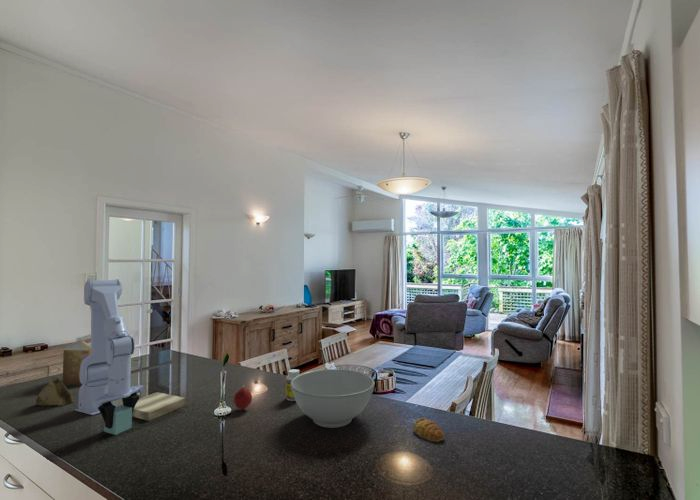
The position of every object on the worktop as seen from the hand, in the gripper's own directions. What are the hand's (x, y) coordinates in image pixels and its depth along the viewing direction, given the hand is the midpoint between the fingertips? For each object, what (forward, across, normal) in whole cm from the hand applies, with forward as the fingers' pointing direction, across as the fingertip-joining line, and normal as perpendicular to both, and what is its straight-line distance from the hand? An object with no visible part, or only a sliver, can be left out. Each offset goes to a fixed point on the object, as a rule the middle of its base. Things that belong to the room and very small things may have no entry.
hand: (118, 423), depth 110 cm
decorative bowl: (+2, +33, -55) cm, 64 cm away
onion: (+2, +27, -24) cm, 36 cm away
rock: (+2, +4, +40) cm, 40 cm away
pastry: (+2, +36, -85) cm, 92 cm away
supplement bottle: (+2, +43, -34) cm, 55 cm away
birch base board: (+2, +15, +4) cm, 16 cm away
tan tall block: (+2, +24, +57) cm, 62 cm away
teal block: (+2, 0, 0) cm, 2 cm away
